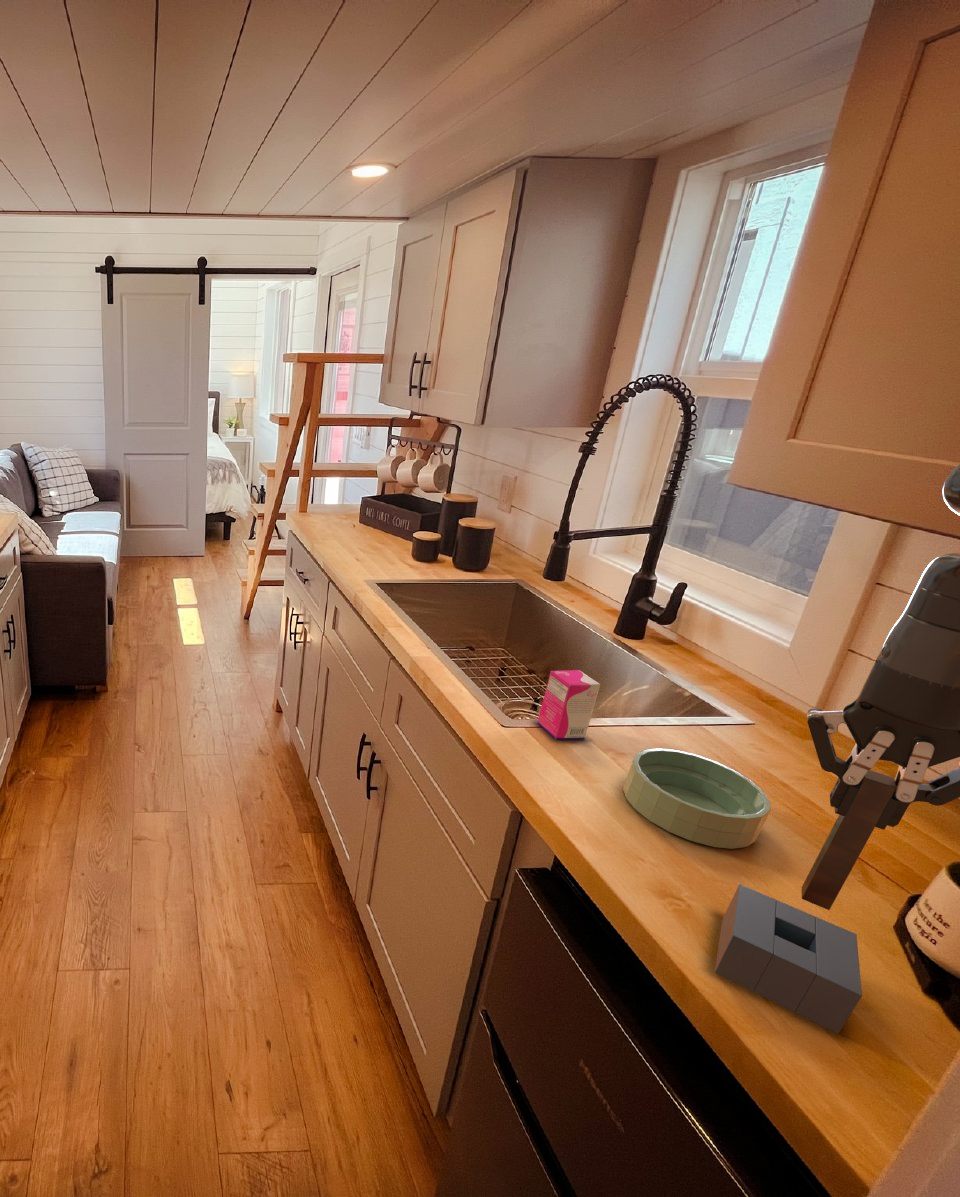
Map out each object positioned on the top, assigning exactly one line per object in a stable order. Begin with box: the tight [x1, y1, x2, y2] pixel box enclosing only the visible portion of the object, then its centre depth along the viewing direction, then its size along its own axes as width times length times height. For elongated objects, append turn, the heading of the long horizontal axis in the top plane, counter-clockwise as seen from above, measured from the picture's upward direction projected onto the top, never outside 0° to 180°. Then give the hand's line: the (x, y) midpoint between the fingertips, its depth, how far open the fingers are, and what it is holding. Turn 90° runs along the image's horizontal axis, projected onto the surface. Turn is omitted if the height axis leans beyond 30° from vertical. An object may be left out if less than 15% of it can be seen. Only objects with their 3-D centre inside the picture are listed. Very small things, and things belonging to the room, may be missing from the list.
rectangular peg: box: [801, 769, 896, 911], centre depth 67 cm, size 2×2×16 cm
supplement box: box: [536, 669, 601, 741], centre depth 117 cm, size 6×6×12 cm
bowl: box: [622, 747, 772, 850], centre depth 98 cm, size 16×16×6 cm
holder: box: [714, 883, 863, 1035], centre depth 73 cm, size 10×10×6 cm
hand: (858, 817), depth 66 cm, fingers closed on rectangular peg, 2 cm apart
